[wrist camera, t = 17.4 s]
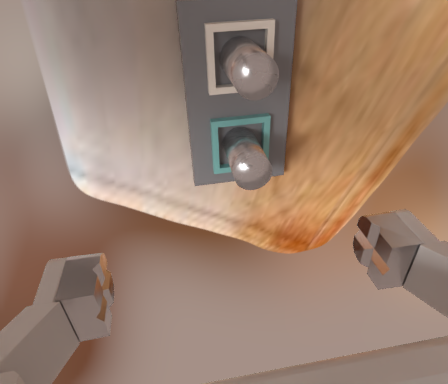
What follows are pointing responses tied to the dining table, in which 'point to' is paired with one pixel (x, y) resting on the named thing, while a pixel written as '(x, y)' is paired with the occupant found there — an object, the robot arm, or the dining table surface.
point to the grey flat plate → (222, 86)
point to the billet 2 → (246, 158)
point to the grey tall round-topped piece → (249, 68)
